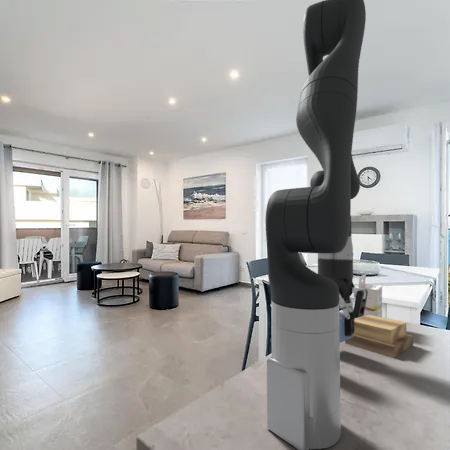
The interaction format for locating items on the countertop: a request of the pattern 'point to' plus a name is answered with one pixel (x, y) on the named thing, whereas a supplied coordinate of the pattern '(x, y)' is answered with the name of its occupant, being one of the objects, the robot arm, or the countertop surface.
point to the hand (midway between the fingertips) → (335, 331)
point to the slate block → (342, 328)
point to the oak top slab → (380, 328)
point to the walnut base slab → (382, 345)
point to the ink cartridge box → (372, 298)
